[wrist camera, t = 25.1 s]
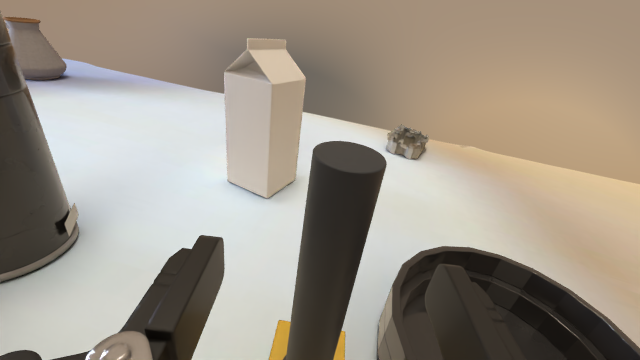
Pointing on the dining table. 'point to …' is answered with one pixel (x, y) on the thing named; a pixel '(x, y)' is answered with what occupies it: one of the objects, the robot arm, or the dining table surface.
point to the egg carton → (406, 142)
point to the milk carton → (263, 117)
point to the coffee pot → (34, 50)
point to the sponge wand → (330, 249)
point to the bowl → (500, 311)
